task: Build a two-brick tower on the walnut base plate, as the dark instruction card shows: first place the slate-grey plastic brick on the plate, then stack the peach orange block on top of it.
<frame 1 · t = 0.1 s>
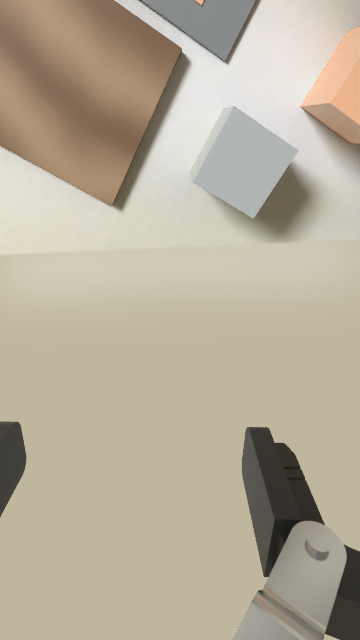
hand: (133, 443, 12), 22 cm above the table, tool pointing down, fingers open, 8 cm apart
walnut base plate: (71, 89, 25), on the table
peach orange block: (347, 91, 26), on the table
slate brick: (232, 158, 28), on the table
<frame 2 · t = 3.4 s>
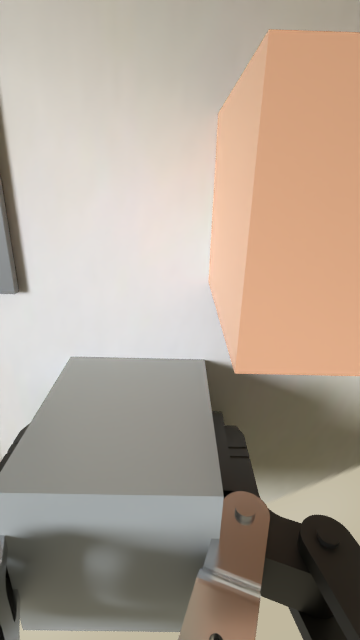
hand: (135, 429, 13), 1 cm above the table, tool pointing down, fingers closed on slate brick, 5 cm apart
peach orange block: (291, 206, 11), on the table
slate brick: (139, 413, 14), on the table, touching gripper
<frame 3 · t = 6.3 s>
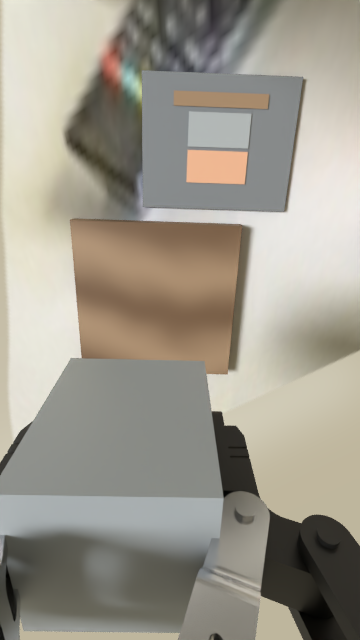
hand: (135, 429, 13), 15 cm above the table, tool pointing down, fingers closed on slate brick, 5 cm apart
walnut base plate: (156, 299, 27), on the table
instruction card: (217, 146, 23), on the table
slate brick: (139, 414, 14), point 14 cm above the table, touching gripper
when the fingers open (3 cm above the table, at t = 9.0 s): slate brick drops 1 cm, resting on walnut base plate.
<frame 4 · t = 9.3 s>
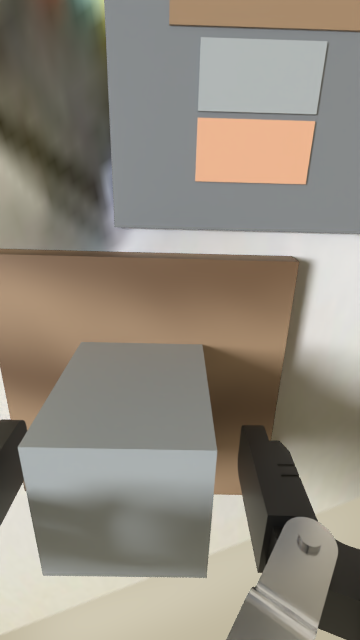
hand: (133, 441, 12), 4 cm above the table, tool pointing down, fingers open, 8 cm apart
walnut base plate: (144, 380, 16), on the table
instruction card: (255, 111, 12), on the table
slate brick: (142, 394, 15), point 1 cm above the table, touching walnut base plate
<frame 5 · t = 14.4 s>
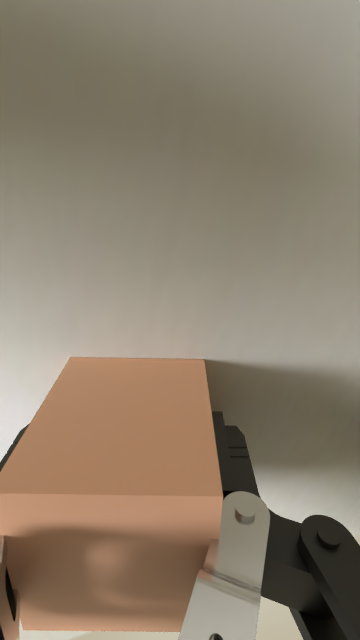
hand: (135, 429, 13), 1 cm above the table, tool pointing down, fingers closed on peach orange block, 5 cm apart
peach orange block: (139, 413, 14), on the table, touching gripper
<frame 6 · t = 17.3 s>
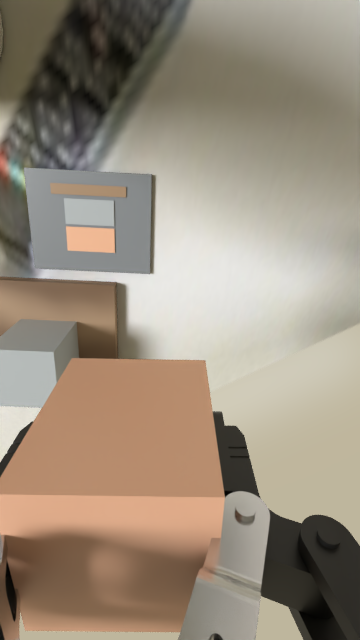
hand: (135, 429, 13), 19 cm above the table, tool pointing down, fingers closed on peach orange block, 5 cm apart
walnut base plate: (54, 340, 33), on the table
instruction card: (91, 223, 29), on the table
peach orange block: (140, 413, 14), point 18 cm above the table, touching gripper
slate brick: (51, 345, 32), point 1 cm above the table, touching walnut base plate
when the fingers open (9 cm above the table, at t = 20.4 s): peach orange block drops 1 cm, resting on slate brick.
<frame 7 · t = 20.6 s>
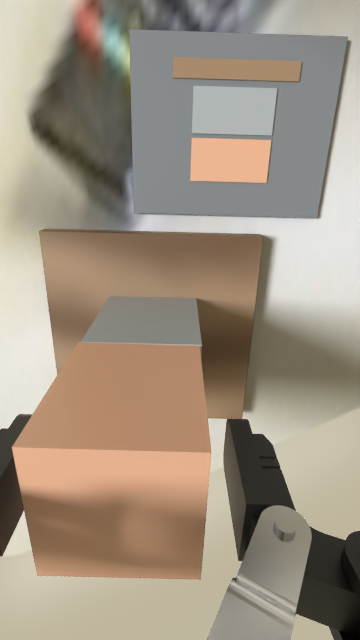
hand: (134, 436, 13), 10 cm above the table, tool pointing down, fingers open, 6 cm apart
walnut base plate: (153, 329, 22), on the table
instruction card: (231, 133, 17), on the table
peach orange block: (140, 394, 15), point 7 cm above the table, touching slate brick
slate brick: (152, 336, 21), point 1 cm above the table, touching peach orange block, walnut base plate
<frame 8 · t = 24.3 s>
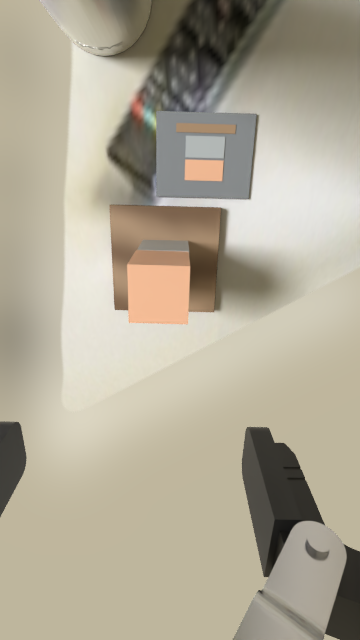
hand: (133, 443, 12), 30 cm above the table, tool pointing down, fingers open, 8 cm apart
walnut base plate: (165, 260, 40), on the table
instruction card: (204, 157, 36), on the table
peach orange block: (161, 276, 34), point 7 cm above the table, touching slate brick
slate brick: (165, 262, 39), point 1 cm above the table, touching peach orange block, walnut base plate
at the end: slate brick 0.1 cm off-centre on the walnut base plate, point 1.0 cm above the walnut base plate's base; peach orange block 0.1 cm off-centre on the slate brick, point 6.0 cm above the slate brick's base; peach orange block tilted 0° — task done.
